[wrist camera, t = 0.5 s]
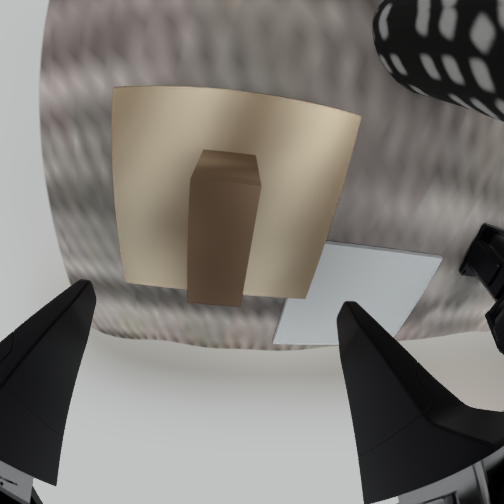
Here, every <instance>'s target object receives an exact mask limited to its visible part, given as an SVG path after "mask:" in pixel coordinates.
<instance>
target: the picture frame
mask: <svg viewBox="0 0 504 504" xmlns="http://www.w3.org/2000/svg"><path fill="white" fill-rule="evenodd" d="M442 259H443V258H442V257H441V256H440V255H433V254H426V253H418V252H411V251H404V250H396V249H389V248H381V247H373V246H365V245H357V244H349V243H341V242H332V241H326V242H325V245H324V248H323V251H322V254H321V257H320V260H319V263H318V266H317V269H316V271H315V274H314V277H313V280H312V283H311V285H310V288H309V291H308V294H307V296H306V299H294V298H286V300H285V303H284V306H283V309H282V312H281V315H280V318H279V321H278V325H277V328H276V331H275V334H274V337H273V340H272V342H273V344H294V345H339V341H338V332H337V323H336V320H337V316H338V313H339V311H340V309H341V307H342V305H343V303H344V302H345V301H355V302H357V303H358V304H359V305H360V306H361V307H362V308H363V309H364V310H365V311H366V312H367V313H369V314H370V315H371V316H372V317H373V318H374V319H375V320H376V321H377V322H378V323H379V324H380V325H381V326H382V327H383V328H384V329H385V330H386V331H387V332H388V333H389V334H390V335H391V336H392V337H393V338H394V336H395V335H396V333H397V332H398V331H399V329H400V328H401V326H402V325H403V323H404V322H405V320H406V319H407V317H408V316H409V314H410V313H411V311H412V310H413V308H414V307H415V305H416V304H417V302H418V300H419V299H420V297H421V296H422V294H423V292H424V291H425V289H426V287H427V286H428V284H429V282H430V280H431V279H432V277H433V275H434V273H435V272H436V270H437V268H438V266H439V264H440V263H441V261H442Z"/></svg>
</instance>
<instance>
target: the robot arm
mask: <svg viewBox="0 0 504 504" xmlns="http://www.w3.org/2000/svg"><path fill="white" fill-rule="evenodd" d="M459 272H460V273H461V275H466V276H477V278H478V279H479V280H480V281H481V283H482V284H483V285H484V287H485V288H486V289H487V291H488V292H489V293H490V295H491V296H492V298H493V299H494V300H495V302H496V303H495V304H494V305H493V307H492V308H491V309H490V310H489V311H488V312H487V313H486V314H485V317H486V319H487V323H488V325H489V327H490V330H491V333H492V335H493V338H494V340H495V343H496V346H497V348H498V349H499V351H500V352H501V353H503V354H504V230H503V229H500V228H497V227H494V226H491V225H488V224H484V225H483V226H482V228H481V230H480V233H479V235H478V237H477V239H476V241H475V243H474V245H473V247H472V248H471V250H470V252H469V254H468V256H467V258H466V260H465V261H464V263H463V265H462V267H461V269H460V271H459ZM95 306H96V295H95V292H94V289H93V285H92V282H91V281H90V280H84V279H80V280H78V281H77V282H76V283H74V284H73V285H72V286H70V287H69V288H68V289H66V290H65V291H64V292H62V293H61V294H60V295H58V296H57V297H56V298H54V299H53V300H52V301H50V302H49V303H48V304H46V305H45V306H44V307H43V308H41V309H40V310H39V311H38V312H36V313H35V314H34V315H33V316H31V317H30V318H29V319H28V320H27V321H25V322H24V323H23V324H21V325H20V326H19V327H18V328H17V329H15V331H14V332H12V333H11V334H9V335H8V336H7V337H6V338H5V339H4V340H2V341H1V342H0V504H43V503H42V501H41V500H40V498H39V496H38V495H37V493H36V491H35V489H34V488H33V486H32V484H33V478H37V479H39V480H42V481H44V482H46V483H49V484H51V485H54V486H56V484H57V477H58V468H59V461H60V454H61V447H62V441H63V435H64V430H65V424H66V419H67V414H68V410H69V405H70V401H71V397H72V393H73V389H74V385H75V381H76V378H77V374H78V370H79V367H80V363H81V360H82V357H83V353H84V350H85V347H86V344H87V340H88V336H89V332H90V327H91V323H92V318H93V314H94V310H95ZM336 323H337V332H338V341H339V349H340V359H341V364H342V369H343V374H344V378H345V384H346V389H347V394H348V399H349V404H350V409H351V415H352V420H353V427H354V433H355V439H356V446H357V452H358V457H359V458H358V460H359V466H360V475H361V482H362V491H363V500H364V504H371V503H375V502H378V501H382V500H386V499H389V498H392V497H396V496H398V499H399V503H398V504H504V412H498V411H490V410H483V409H476V408H472V407H469V406H467V405H465V404H464V403H463V402H461V401H460V400H459V399H458V398H457V397H455V396H454V395H453V394H452V393H451V392H450V391H449V390H447V389H446V388H445V387H444V386H443V385H442V384H440V383H439V382H438V381H437V380H436V379H435V378H434V377H433V376H432V375H431V374H430V373H429V372H427V370H426V369H424V368H423V366H422V365H420V363H418V362H417V361H416V360H415V359H414V358H413V357H412V356H411V355H410V354H409V353H408V352H407V351H406V350H405V349H404V348H403V347H402V346H401V345H400V344H399V343H398V342H397V341H396V340H395V339H394V338H393V337H392V336H391V335H390V334H389V333H388V332H387V331H386V330H385V329H384V328H383V327H382V326H381V325H380V324H379V323H378V322H377V321H376V320H375V319H374V318H373V317H372V316H371V315H370V314H369V313H367V312H366V311H365V310H364V309H363V308H362V307H361V306H360V305H359V304H358V303H357V302H355V301H345V302H344V303H343V305H342V307H341V309H340V311H339V313H338V316H337V320H336Z"/></svg>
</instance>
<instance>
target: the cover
mask: <svg viewBox="0 0 504 504" xmlns="http://www.w3.org/2000/svg"><path fill="white" fill-rule="evenodd" d="M361 117H362V116H360V115H358V114H355V113H352V112H348V111H344V110H341V109H337V108H333V107H329V106H325V105H320V104H316V103H311V102H307V101H302V100H297V99H292V98H286V97H281V96H275V95H269V94H262V93H255V92H248V91H240V90H230V89H220V88H208V87H191V86H125V87H115V88H113V95H112V171H113V188H114V201H115V212H116V222H117V231H118V239H119V246H120V254H121V260H122V267H123V273H124V278H125V282H126V283H134V284H142V285H150V286H158V287H167V288H176V289H186V290H187V302H189V303H199V304H210V305H221V306H232V307H241V301H242V296H243V295H251V296H265V297H279V298H294V299H306V296H307V294H308V291H309V288H310V285H311V283H312V280H313V277H314V274H315V271H316V269H317V266H318V263H319V260H320V257H321V254H322V251H323V248H324V245H325V242H326V239H327V236H328V233H329V230H330V227H331V224H332V221H333V217H334V214H335V211H336V208H337V205H338V201H339V198H340V195H341V191H342V188H343V184H344V181H345V178H346V174H347V171H348V167H349V163H350V160H351V156H352V152H353V149H354V145H355V141H356V137H357V133H358V129H359V125H360V121H361Z"/></svg>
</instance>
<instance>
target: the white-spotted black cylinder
mask: <svg viewBox="0 0 504 504" xmlns="http://www.w3.org/2000/svg"><path fill="white" fill-rule="evenodd" d="M373 36H374V43H375V46H376V49H377V52H378V55H379V57H380V59H381V60H382V62H383V64H384V66H385V67H386V69H387V70H388V71H389V73H390V74H391V75H392V76H393V77H394V78H395V79H396V80H397V82H399V83H400V84H401V85H403V86H404V87H405V88H407V89H409V90H411V91H412V92H414V93H417V94H421V95H424V96H428V97H432V98H436V99H439V100H443V101H446V102H450V103H453V104H456V105H459V106H462V107H465V108H468V109H471V110H474V111H477V112H479V113H482V114H485V115H487V116H490V117H492V118H495V119H497V120H500V121H502V122H504V0H385V1H384V2H383V3H382V4H381V5H380V6H379V7H378V9H377V11H376V13H375V17H374V21H373Z"/></svg>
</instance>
